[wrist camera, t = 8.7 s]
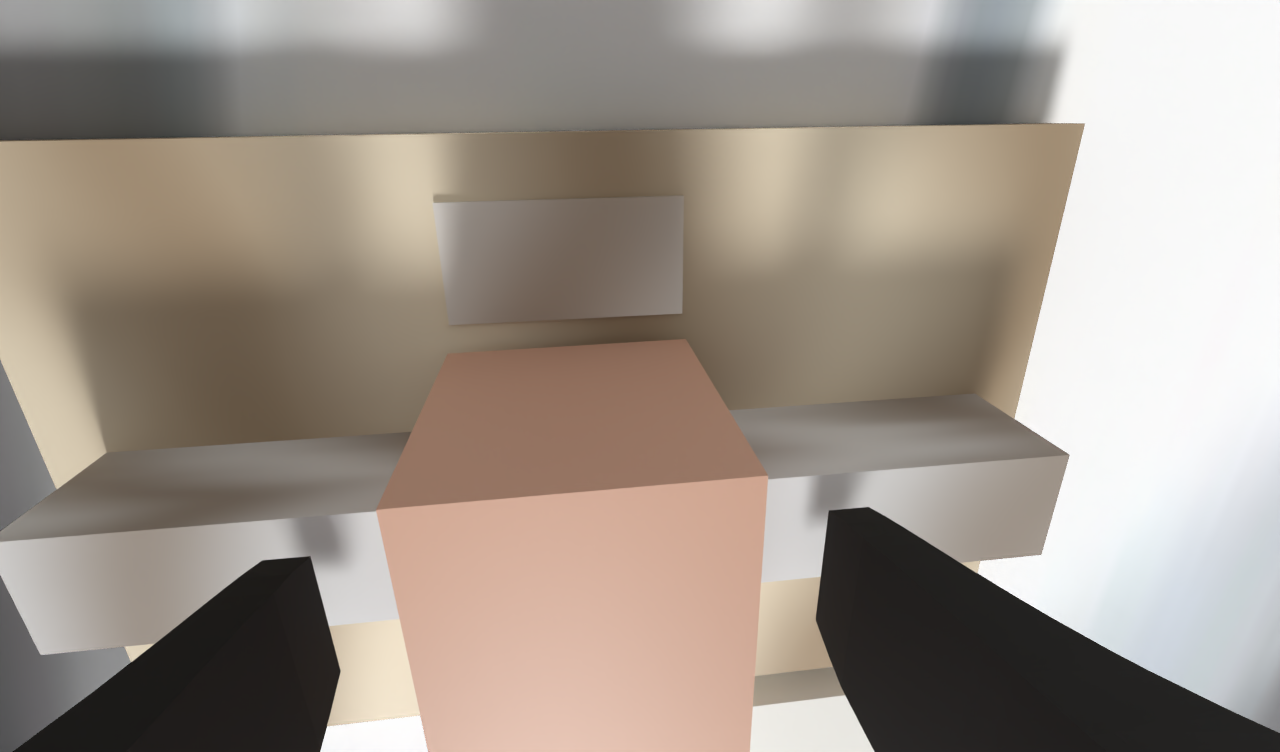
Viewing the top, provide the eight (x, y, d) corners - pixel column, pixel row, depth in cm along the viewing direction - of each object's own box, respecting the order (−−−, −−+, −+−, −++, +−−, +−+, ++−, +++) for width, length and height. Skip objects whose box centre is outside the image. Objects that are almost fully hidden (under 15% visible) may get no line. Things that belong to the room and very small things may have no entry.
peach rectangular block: (486, 617, 12) (452, 864, 8) (447, 353, 10) (375, 510, 6) (683, 596, 13) (745, 820, 9) (685, 339, 11) (768, 475, 7)
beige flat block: (192, 704, 14) (85, 876, 11) (-32, 141, 10) (-327, 150, 6) (935, 622, 16) (1029, 746, 13) (1043, 123, 12) (1230, 124, 8)
